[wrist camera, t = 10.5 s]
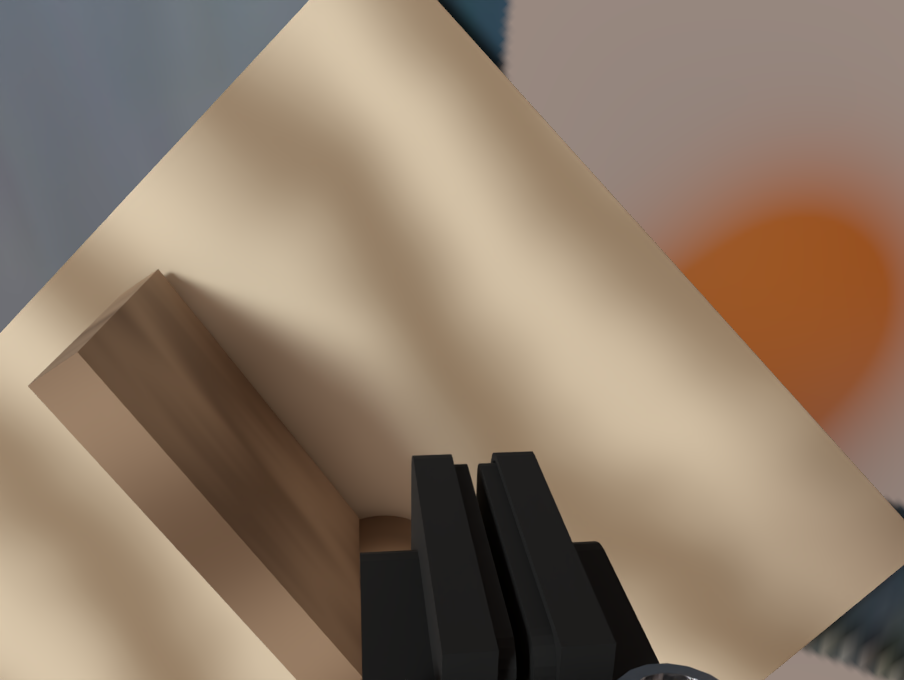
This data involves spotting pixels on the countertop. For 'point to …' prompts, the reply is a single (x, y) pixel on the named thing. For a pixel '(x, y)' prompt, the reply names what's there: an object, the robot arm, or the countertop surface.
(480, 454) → the board
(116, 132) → the countertop surface
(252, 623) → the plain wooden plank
